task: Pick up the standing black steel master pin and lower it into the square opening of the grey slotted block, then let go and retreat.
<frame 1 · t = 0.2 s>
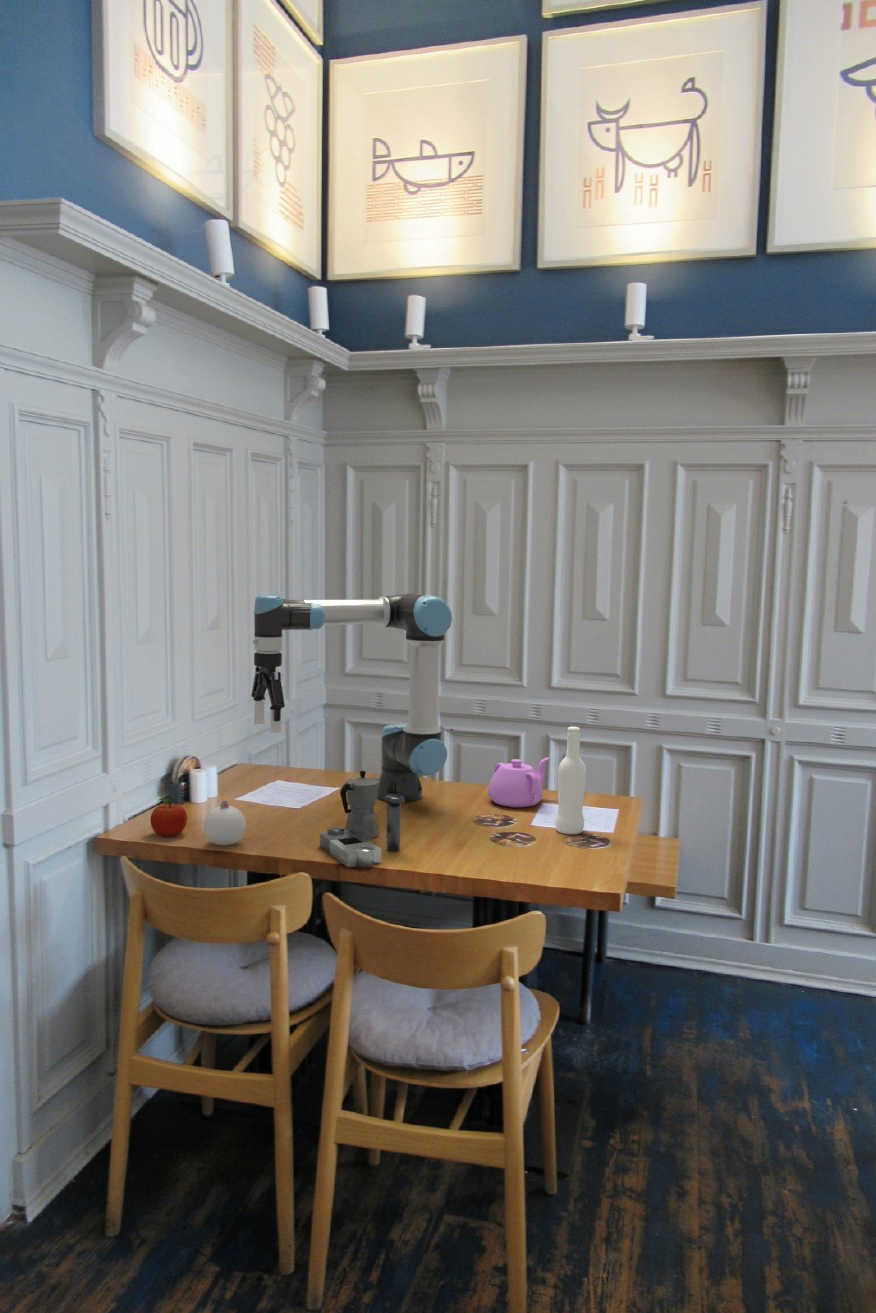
hand: (267, 728, 263), 28 cm above the table, fingers open, 13 cm apart
coffeepot: (358, 836, 260), on the table
ornament: (224, 845, 249), on the table
grey slotted block: (349, 854, 244), on the table
fruit: (169, 835, 256), on the table
master pin: (393, 849, 249), on the table
bottle: (569, 831, 271), on the table
teapot: (520, 802, 300), on the table
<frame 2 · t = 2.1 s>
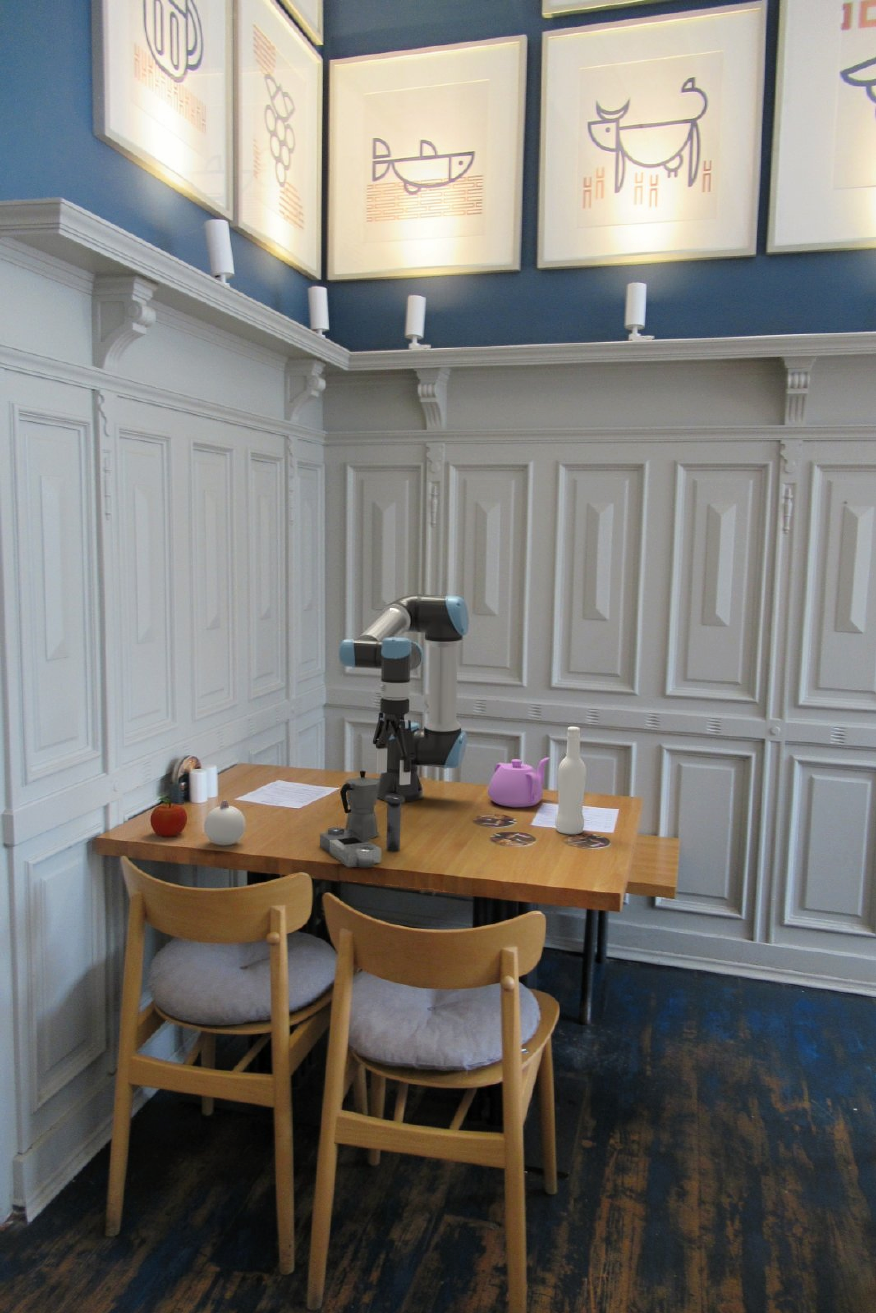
hand: (392, 778, 247), 19 cm above the table, fingers open, 13 cm apart
nothing on the table moved.
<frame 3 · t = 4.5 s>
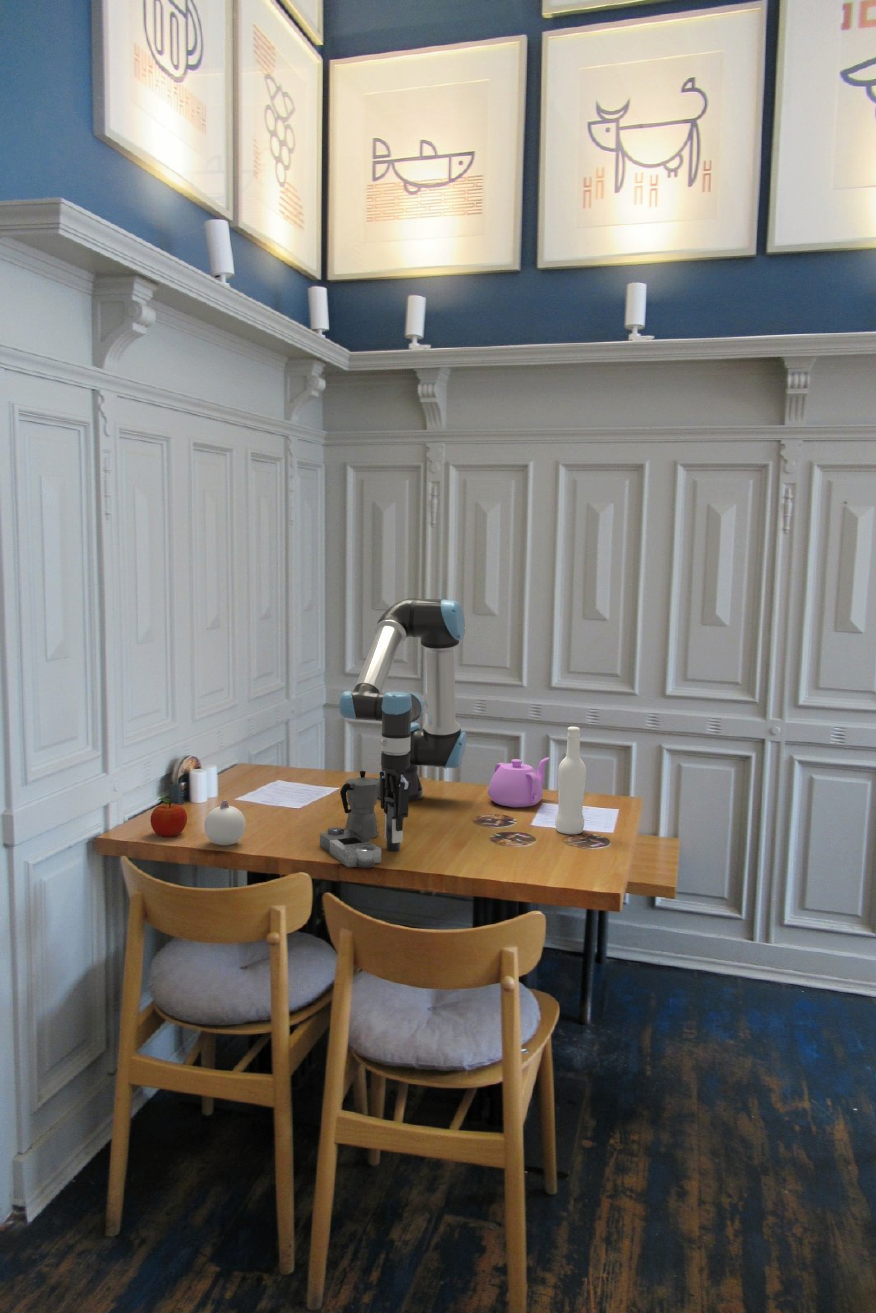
hand: (393, 839, 249), 3 cm above the table, fingers closed on master pin, 4 cm apart
master pin: (393, 849, 249), on the table, touching gripper
everything else where it was.
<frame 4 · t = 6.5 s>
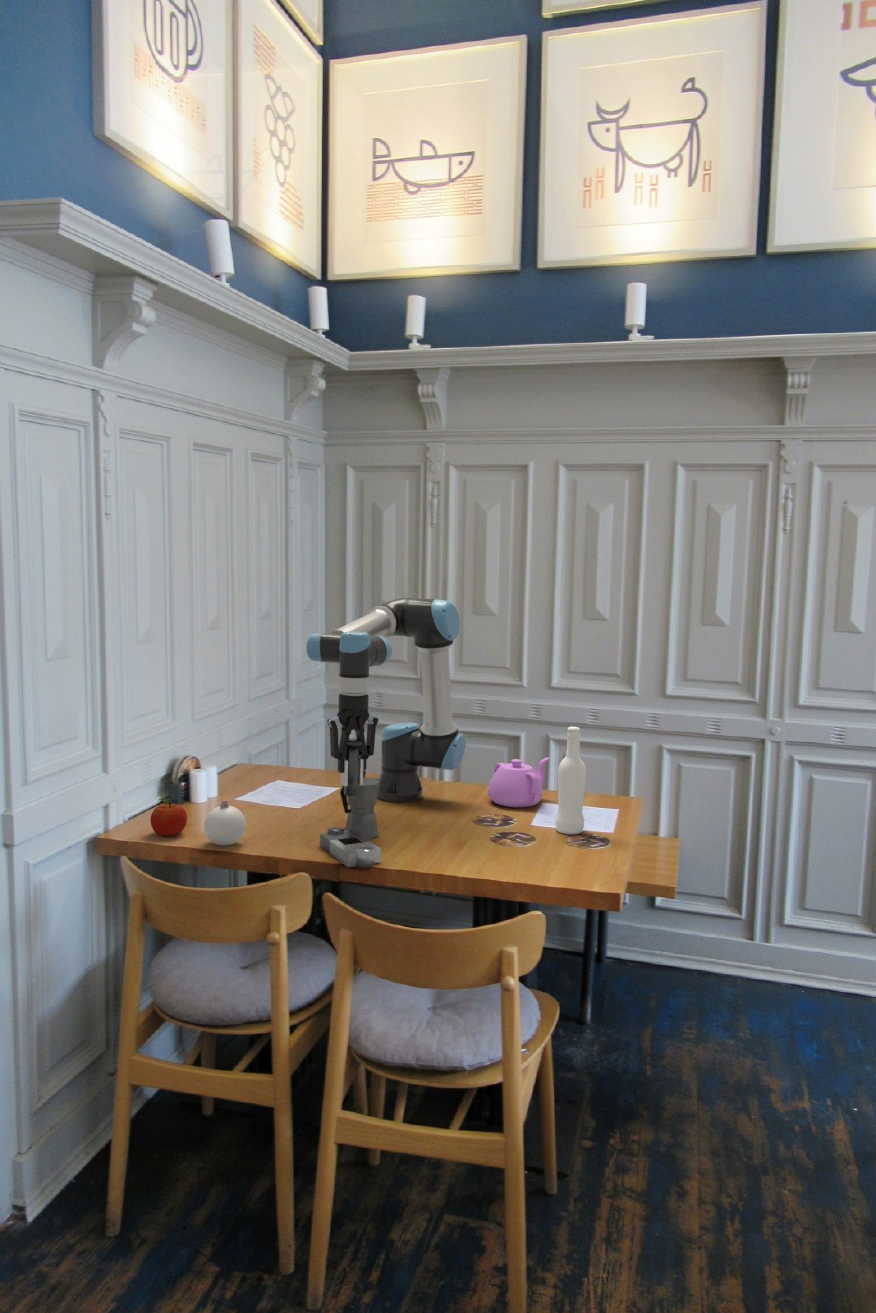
hand: (351, 783, 242), 18 cm above the table, fingers closed on master pin, 4 cm apart
master pin: (351, 794, 242), point 16 cm above the table, touching gripper
everything else where it was.
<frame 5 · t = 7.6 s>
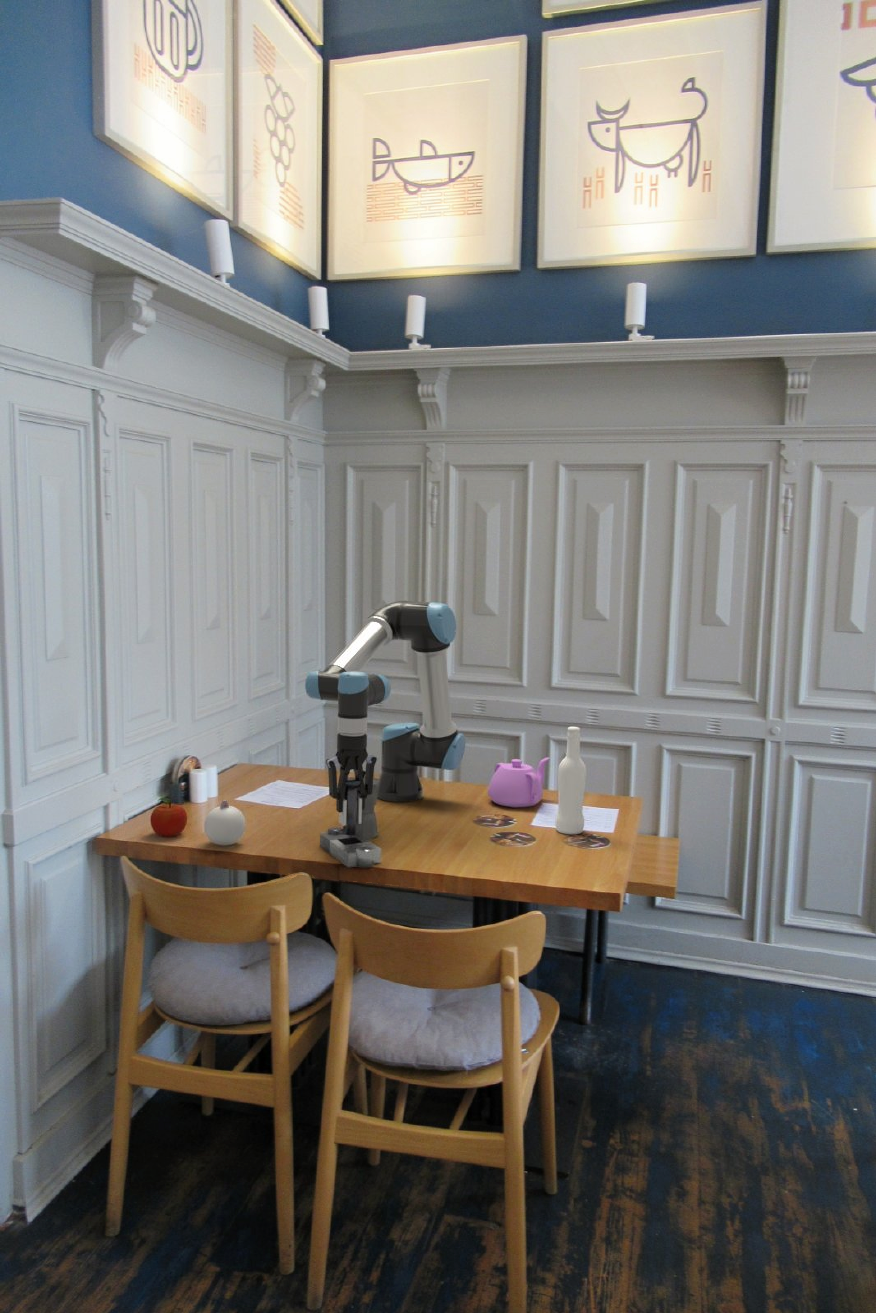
hand: (350, 822, 243), 8 cm above the table, fingers closed on master pin, 4 cm apart
master pin: (350, 833, 244), point 6 cm above the table, touching gripper
everything else where it was.
when the fingers open (5 cm above the table, at t = 8.5 s): master pin drops 2 cm, resting in grey slotted block.
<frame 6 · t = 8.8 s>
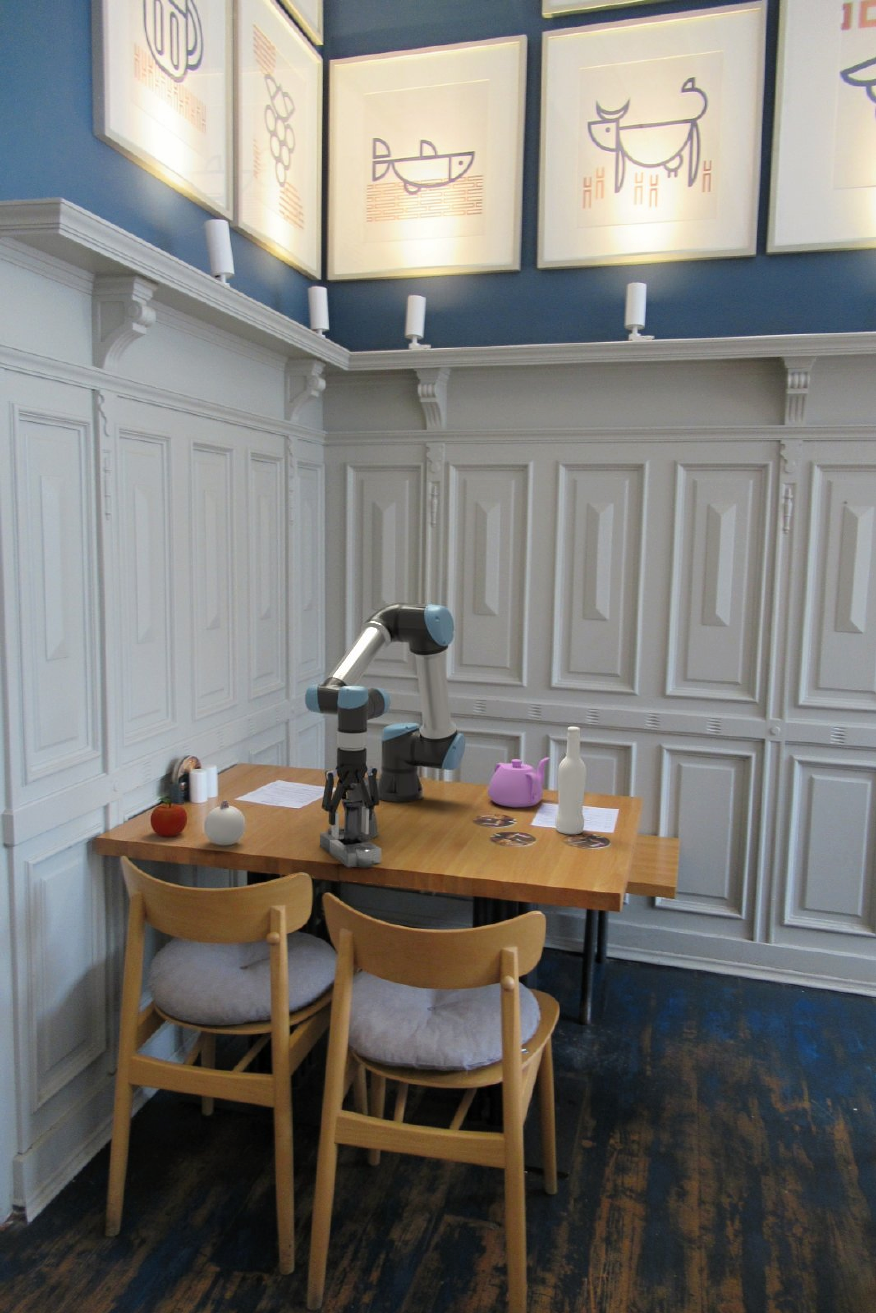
hand: (350, 834, 244), 5 cm above the table, fingers open, 8 cm apart
master pin: (350, 854, 244), resting in grey slotted block
everything else where it was.
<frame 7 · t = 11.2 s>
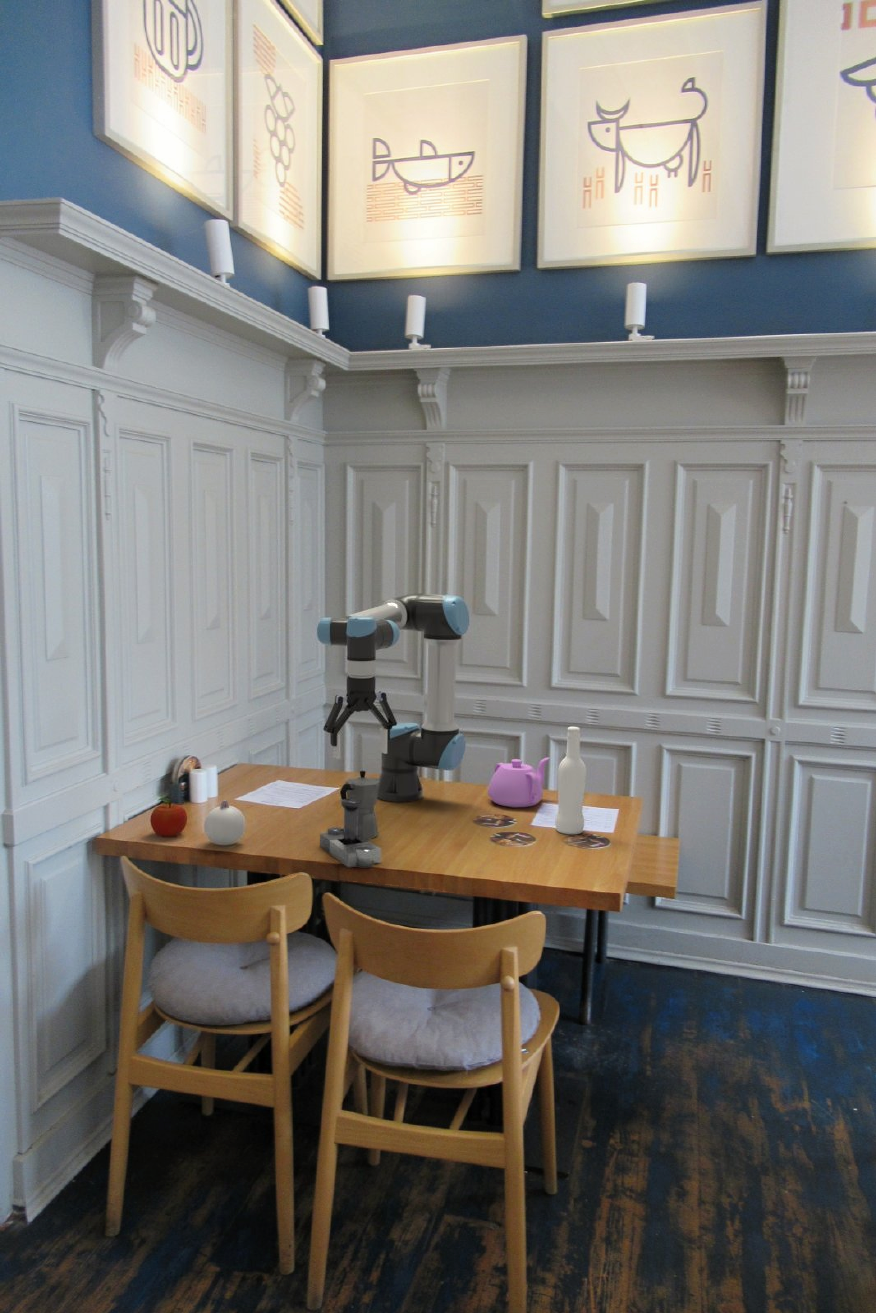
hand: (360, 755, 251), 24 cm above the table, fingers open, 13 cm apart
nothing on the table moved.
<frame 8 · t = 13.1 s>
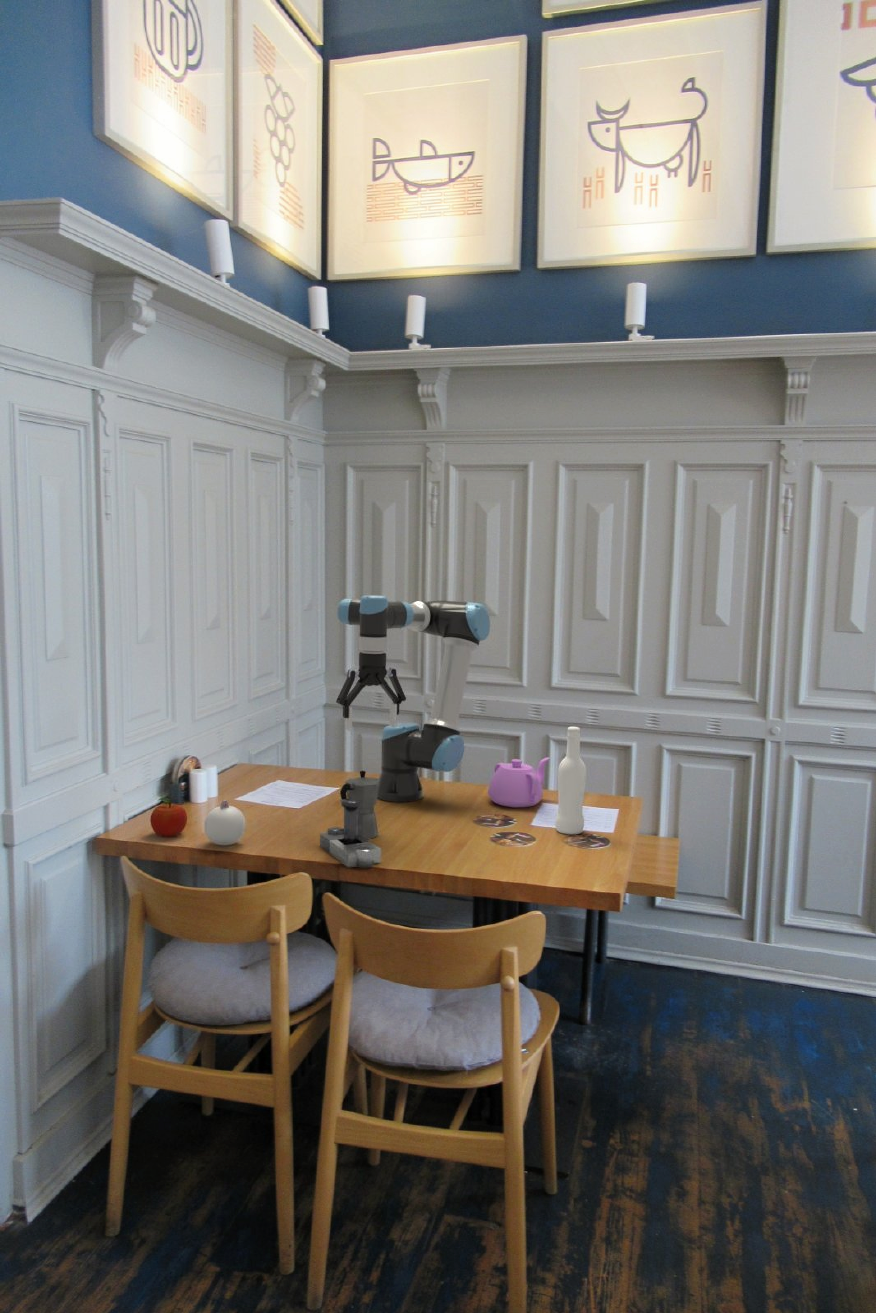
hand: (371, 728, 263), 29 cm above the table, fingers open, 13 cm apart
nothing on the table moved.
at the end: master pin 0.1 cm off-centre on the grey slotted block, point 0.0 cm above the grey slotted block's base; master pin tilted 0°; the gripper is holding nothing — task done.
